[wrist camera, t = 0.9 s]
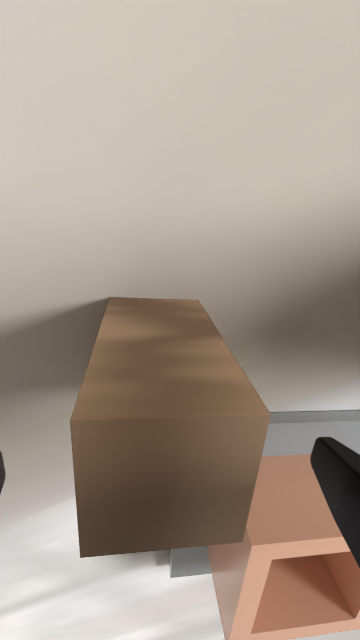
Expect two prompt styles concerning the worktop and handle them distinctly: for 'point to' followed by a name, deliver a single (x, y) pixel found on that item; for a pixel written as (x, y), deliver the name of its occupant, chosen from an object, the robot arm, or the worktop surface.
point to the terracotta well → (285, 543)
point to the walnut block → (163, 433)
